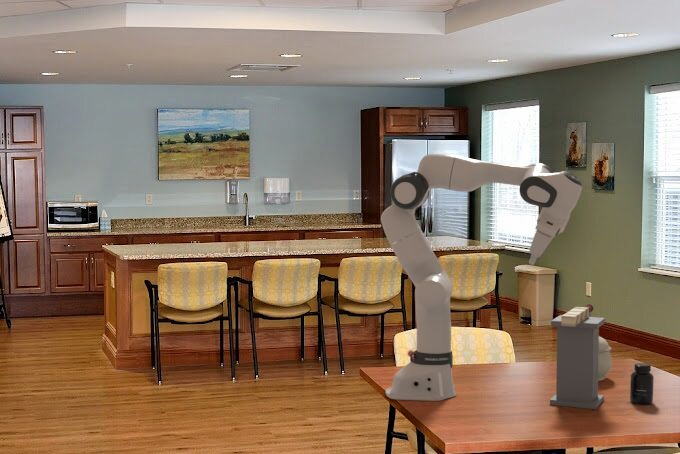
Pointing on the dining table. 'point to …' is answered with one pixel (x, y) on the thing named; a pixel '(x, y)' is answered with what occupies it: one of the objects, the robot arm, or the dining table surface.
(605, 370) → the kettle
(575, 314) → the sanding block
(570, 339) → the tool stand
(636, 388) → the supplement bottle
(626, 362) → the dining table surface
